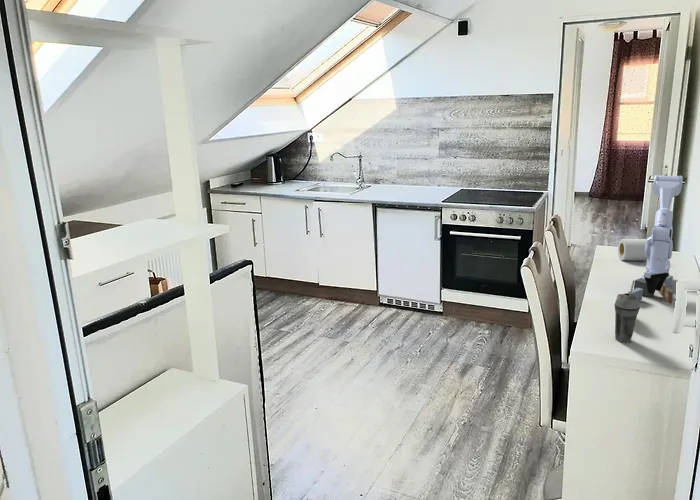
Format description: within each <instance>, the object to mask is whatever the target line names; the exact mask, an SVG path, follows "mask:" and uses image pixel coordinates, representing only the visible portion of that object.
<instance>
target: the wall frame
mask: <svg viewBox="0 0 700 500" xmlns="http://www.w3.org/2000/svg"><path fill="white" fill-rule="evenodd" d="M673 279H674V275H670V274H669V276H668V277H667V278H666V280H665V282H664V284H665V285H666V286H667V287H668V288H669V289H670V288H672V285H673V281H674V280H673ZM630 291H631V290H629V291H628V293H629V294H630ZM642 294H643V289H641V288H636V289H634V288H633V290H632V295H634V296H635V297H637V299H638V301H639V302H641V301H642V300H643V299H642V298H643V295H642Z"/></svg>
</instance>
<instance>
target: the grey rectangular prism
mask: <svg viewBox="0 0 700 500" xmlns="http://www.w3.org/2000/svg"><path fill="white" fill-rule="evenodd" d="M634 281H635V282H634V286H633V290H634V289H636V288H641V289H643V294H642V296H645V297H651V296H654V295H655V293H654V294H651V293H648V289H647V284H646V281H645V279H642V278H641V277H640V278H637V279H635V280H634Z"/></svg>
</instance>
